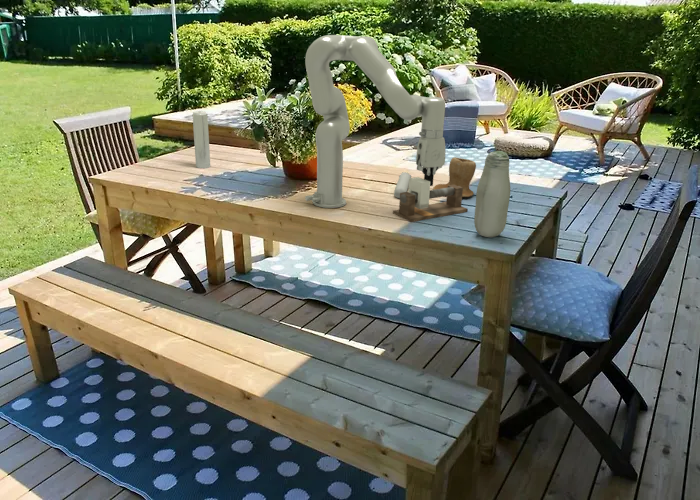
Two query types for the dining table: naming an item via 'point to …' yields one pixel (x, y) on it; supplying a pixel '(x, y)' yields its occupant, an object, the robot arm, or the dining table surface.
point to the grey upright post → (201, 139)
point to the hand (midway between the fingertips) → (428, 185)
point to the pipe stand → (434, 210)
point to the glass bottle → (493, 195)
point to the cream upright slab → (420, 191)
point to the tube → (402, 184)
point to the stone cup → (460, 175)
